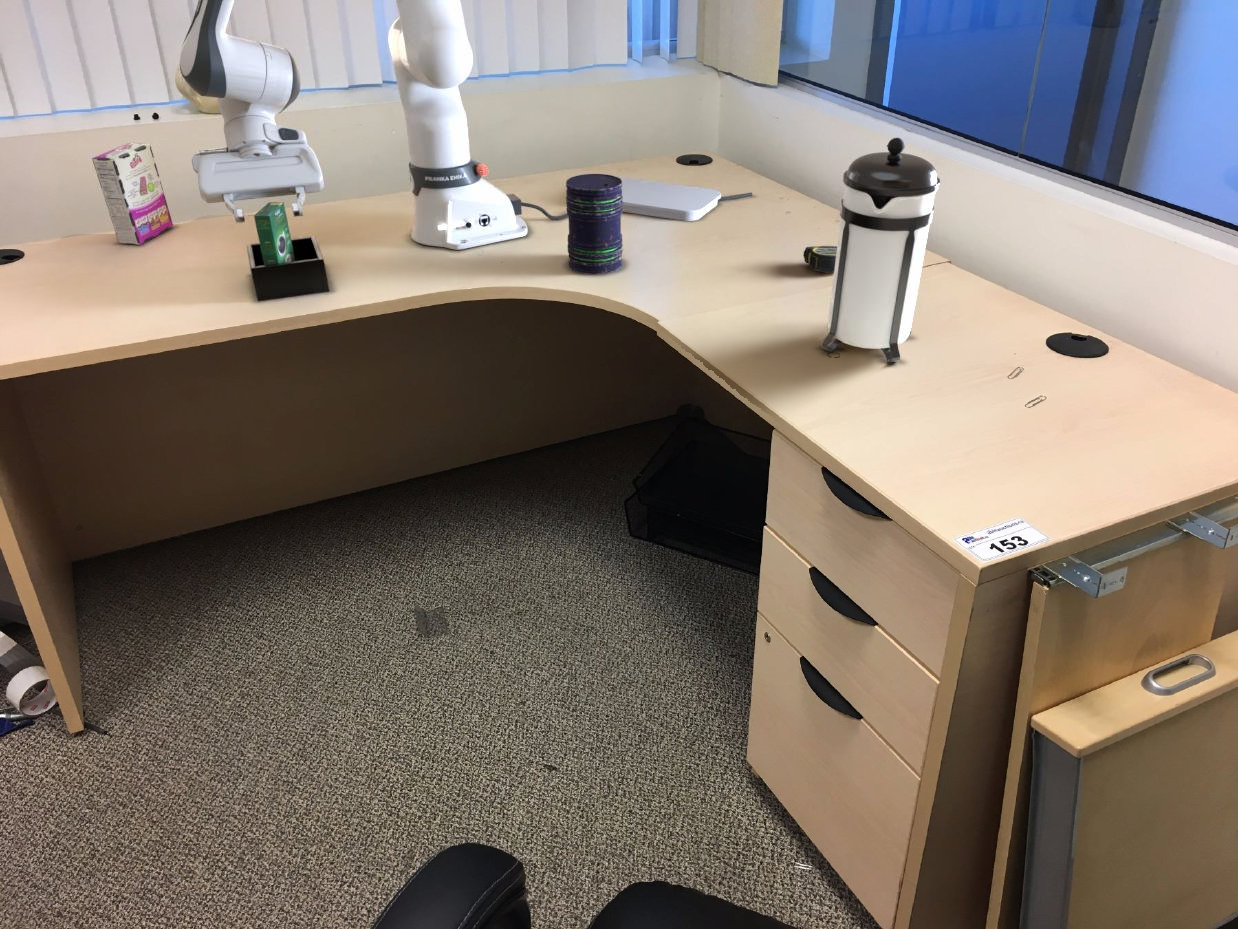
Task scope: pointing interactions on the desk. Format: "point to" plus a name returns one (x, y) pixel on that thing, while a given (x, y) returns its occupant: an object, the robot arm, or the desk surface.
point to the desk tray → (289, 271)
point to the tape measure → (821, 258)
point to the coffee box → (274, 234)
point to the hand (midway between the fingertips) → (269, 217)
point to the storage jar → (594, 223)
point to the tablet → (667, 199)
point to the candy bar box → (133, 193)
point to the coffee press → (880, 249)
